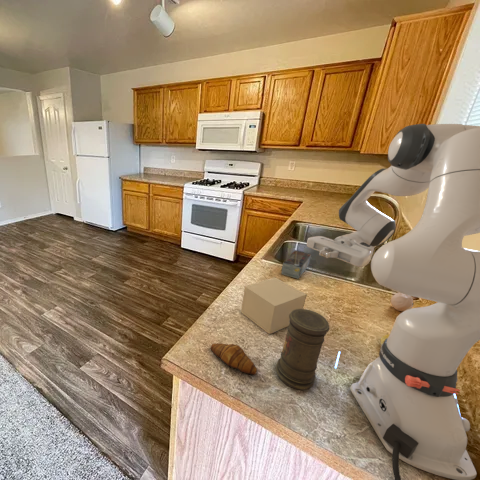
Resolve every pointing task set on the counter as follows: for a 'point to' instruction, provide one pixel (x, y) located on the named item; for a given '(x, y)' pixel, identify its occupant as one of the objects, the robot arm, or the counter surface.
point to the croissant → (234, 357)
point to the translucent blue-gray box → (296, 264)
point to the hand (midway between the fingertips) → (323, 254)
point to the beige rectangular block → (271, 303)
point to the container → (302, 348)
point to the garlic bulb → (402, 302)
